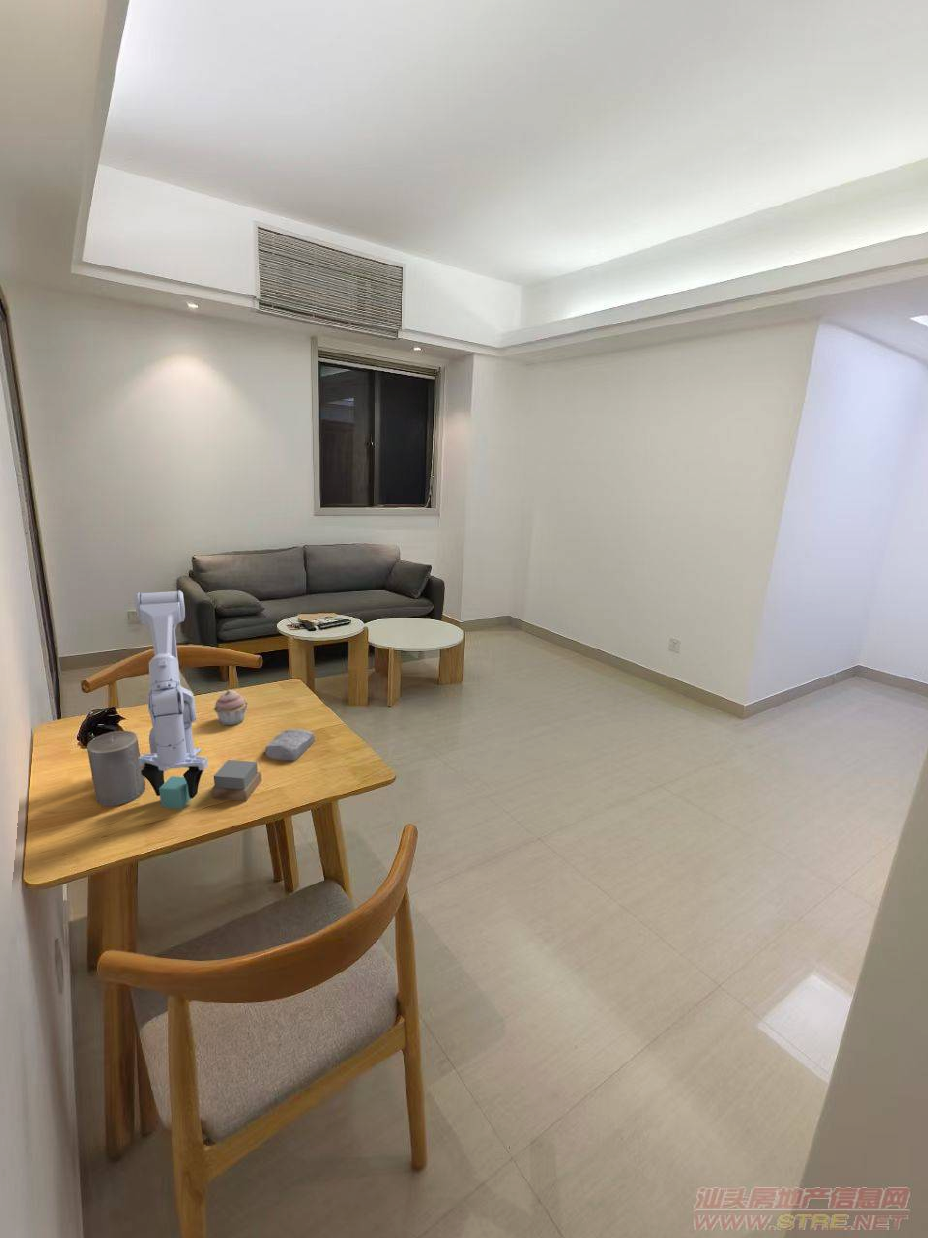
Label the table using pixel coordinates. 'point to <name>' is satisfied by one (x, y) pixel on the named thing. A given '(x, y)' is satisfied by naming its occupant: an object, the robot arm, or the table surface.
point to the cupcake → (230, 708)
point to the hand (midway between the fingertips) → (177, 794)
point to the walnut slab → (237, 791)
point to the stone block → (290, 744)
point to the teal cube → (174, 793)
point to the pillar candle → (116, 768)
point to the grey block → (235, 774)
